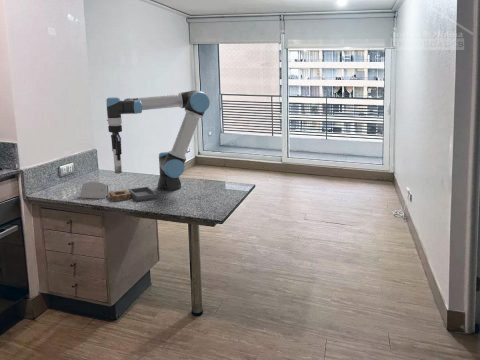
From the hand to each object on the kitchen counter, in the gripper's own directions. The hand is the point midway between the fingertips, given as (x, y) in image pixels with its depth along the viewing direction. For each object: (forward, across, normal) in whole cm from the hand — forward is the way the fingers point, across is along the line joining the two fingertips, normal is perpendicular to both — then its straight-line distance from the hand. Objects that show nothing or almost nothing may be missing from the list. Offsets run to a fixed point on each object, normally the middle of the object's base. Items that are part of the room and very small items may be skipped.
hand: (117, 164), depth 267 cm
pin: (+5, 0, 0) cm, 5 cm away
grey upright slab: (+20, -11, -12) cm, 26 cm away
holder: (+20, 0, 0) cm, 20 cm away
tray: (+20, +3, +13) cm, 24 cm away
